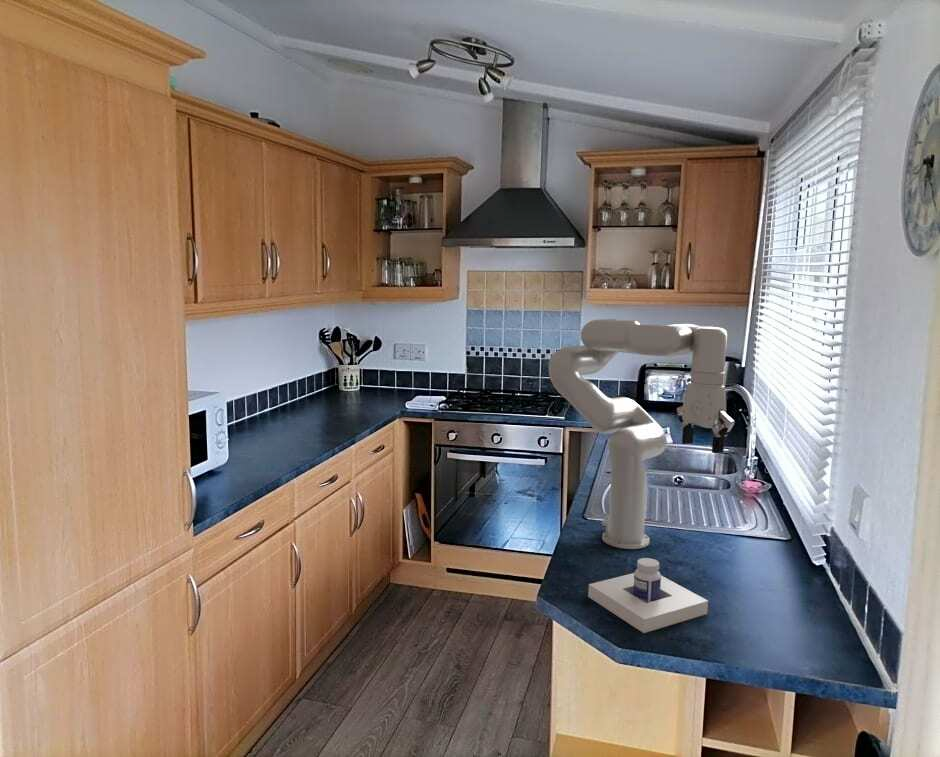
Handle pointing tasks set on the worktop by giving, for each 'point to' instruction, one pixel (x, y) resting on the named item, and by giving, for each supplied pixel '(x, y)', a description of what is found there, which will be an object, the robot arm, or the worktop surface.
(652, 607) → the socket block
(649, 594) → the pill bottle
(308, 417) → the worktop surface
